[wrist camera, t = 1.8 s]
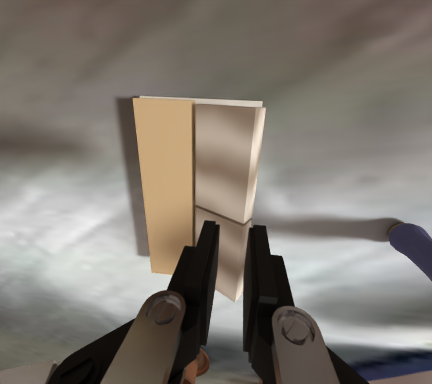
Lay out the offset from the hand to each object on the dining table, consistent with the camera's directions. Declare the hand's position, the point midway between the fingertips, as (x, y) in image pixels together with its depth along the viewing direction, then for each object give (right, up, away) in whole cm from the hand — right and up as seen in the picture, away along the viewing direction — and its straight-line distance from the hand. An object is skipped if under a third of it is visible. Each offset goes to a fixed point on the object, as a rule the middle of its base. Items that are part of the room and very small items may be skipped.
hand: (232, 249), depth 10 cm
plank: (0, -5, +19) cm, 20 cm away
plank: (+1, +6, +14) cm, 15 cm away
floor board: (-3, +2, +20) cm, 21 cm away
